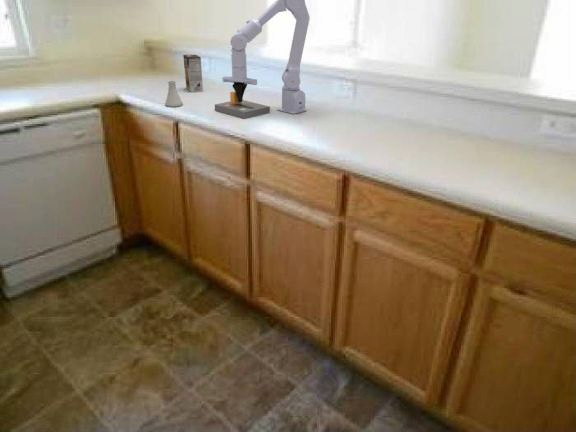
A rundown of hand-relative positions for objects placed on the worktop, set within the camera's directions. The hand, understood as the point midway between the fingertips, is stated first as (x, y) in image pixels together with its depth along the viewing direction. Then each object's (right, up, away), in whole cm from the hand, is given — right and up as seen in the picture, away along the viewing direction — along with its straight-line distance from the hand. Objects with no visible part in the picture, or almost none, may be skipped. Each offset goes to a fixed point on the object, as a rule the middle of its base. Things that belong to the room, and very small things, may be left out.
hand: (240, 101), depth 181 cm
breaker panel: (+1, -4, +1) cm, 4 cm away
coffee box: (-26, +15, +38) cm, 49 cm away
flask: (-29, +1, +9) cm, 31 cm away
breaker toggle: (-2, 0, +2) cm, 3 cm away
